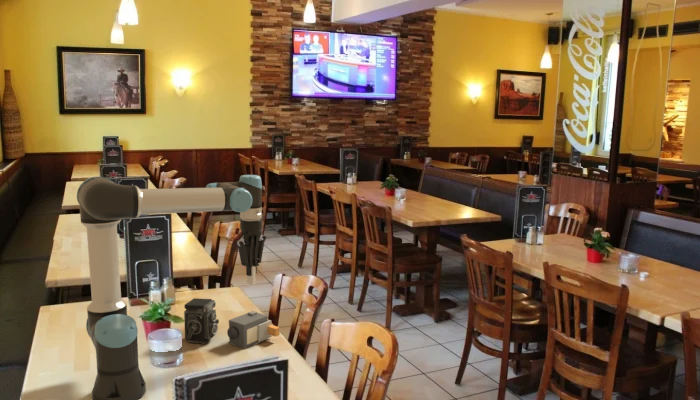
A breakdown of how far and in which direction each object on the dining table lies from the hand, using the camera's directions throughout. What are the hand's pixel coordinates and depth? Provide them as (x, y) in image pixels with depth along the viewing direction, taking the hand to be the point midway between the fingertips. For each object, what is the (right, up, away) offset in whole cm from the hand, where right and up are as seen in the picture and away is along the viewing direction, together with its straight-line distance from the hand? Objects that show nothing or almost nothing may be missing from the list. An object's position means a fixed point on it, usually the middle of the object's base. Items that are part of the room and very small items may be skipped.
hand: (251, 283), depth 212 cm
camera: (-20, -23, +10) cm, 32 cm away
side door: (+5, -22, +8) cm, 24 cm away
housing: (-3, -23, +9) cm, 25 cm away
